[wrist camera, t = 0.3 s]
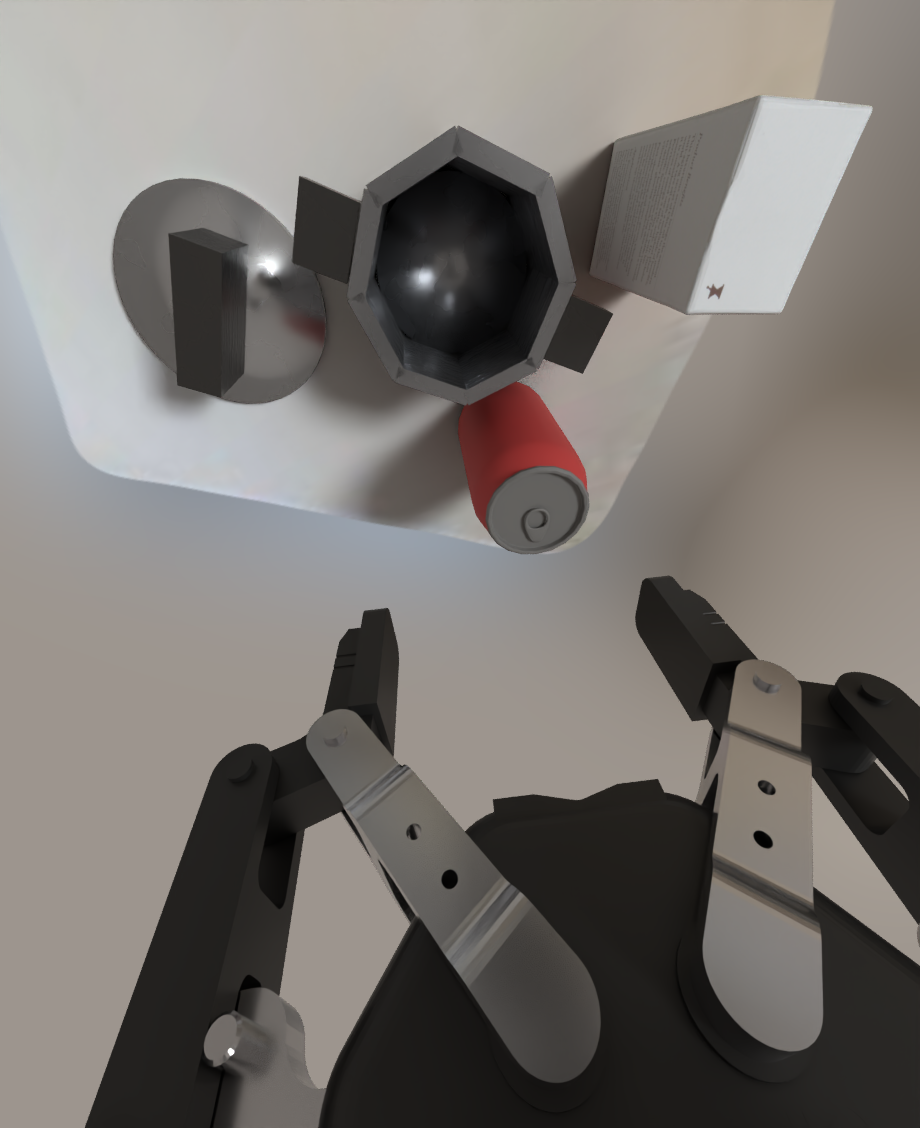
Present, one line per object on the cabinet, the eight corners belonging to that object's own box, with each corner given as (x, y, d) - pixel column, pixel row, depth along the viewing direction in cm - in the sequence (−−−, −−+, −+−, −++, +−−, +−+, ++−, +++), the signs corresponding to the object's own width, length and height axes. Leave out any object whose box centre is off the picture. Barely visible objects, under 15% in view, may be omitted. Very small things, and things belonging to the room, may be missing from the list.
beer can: (461, 468, 34) (480, 569, 25) (452, 383, 29) (471, 468, 20) (543, 458, 34) (592, 554, 25) (546, 371, 29) (607, 450, 20)
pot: (335, 86, 20) (309, 47, 15) (603, 222, 24) (657, 230, 19) (309, 315, 26) (283, 346, 21) (528, 392, 30) (553, 434, 25)
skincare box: (653, 277, 26) (781, 320, 17) (586, 275, 26) (681, 318, 17) (691, 139, 22) (883, 101, 13) (613, 134, 22) (756, 92, 13)
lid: (105, 135, 21) (34, 121, 17) (340, 232, 24) (327, 240, 20) (133, 367, 27) (87, 396, 23) (314, 419, 30) (300, 452, 27)
